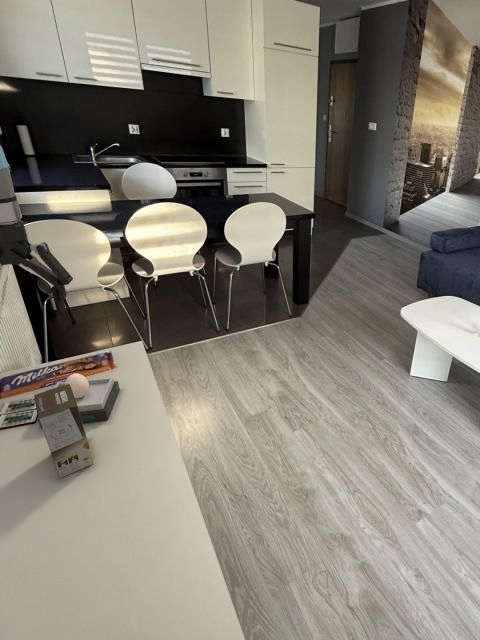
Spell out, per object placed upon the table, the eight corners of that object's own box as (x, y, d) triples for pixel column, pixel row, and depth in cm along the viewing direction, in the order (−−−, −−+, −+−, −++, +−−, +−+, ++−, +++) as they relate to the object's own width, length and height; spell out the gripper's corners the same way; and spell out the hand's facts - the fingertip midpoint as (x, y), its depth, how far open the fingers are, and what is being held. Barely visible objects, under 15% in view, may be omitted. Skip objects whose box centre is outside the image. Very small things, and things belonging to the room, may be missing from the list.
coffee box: (95, 463, 86) (78, 406, 79) (59, 479, 82) (38, 419, 75) (86, 438, 92) (69, 382, 85) (52, 451, 88) (32, 394, 81)
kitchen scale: (40, 429, 93) (34, 413, 91) (59, 395, 103) (54, 381, 101) (107, 421, 97) (103, 405, 95) (120, 389, 107) (116, 375, 105)
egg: (63, 401, 97) (56, 379, 94) (77, 389, 101) (71, 367, 98) (82, 403, 96) (76, 381, 94) (95, 391, 101) (90, 369, 98)
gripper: (-92, 224, 74) (-52, 322, 84) (63, 227, 81) (84, 318, 91) (-66, 214, 81) (-32, 306, 90) (76, 218, 88) (94, 303, 97)
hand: (26, 312), depth 90 cm, fingers open, 13 cm apart
